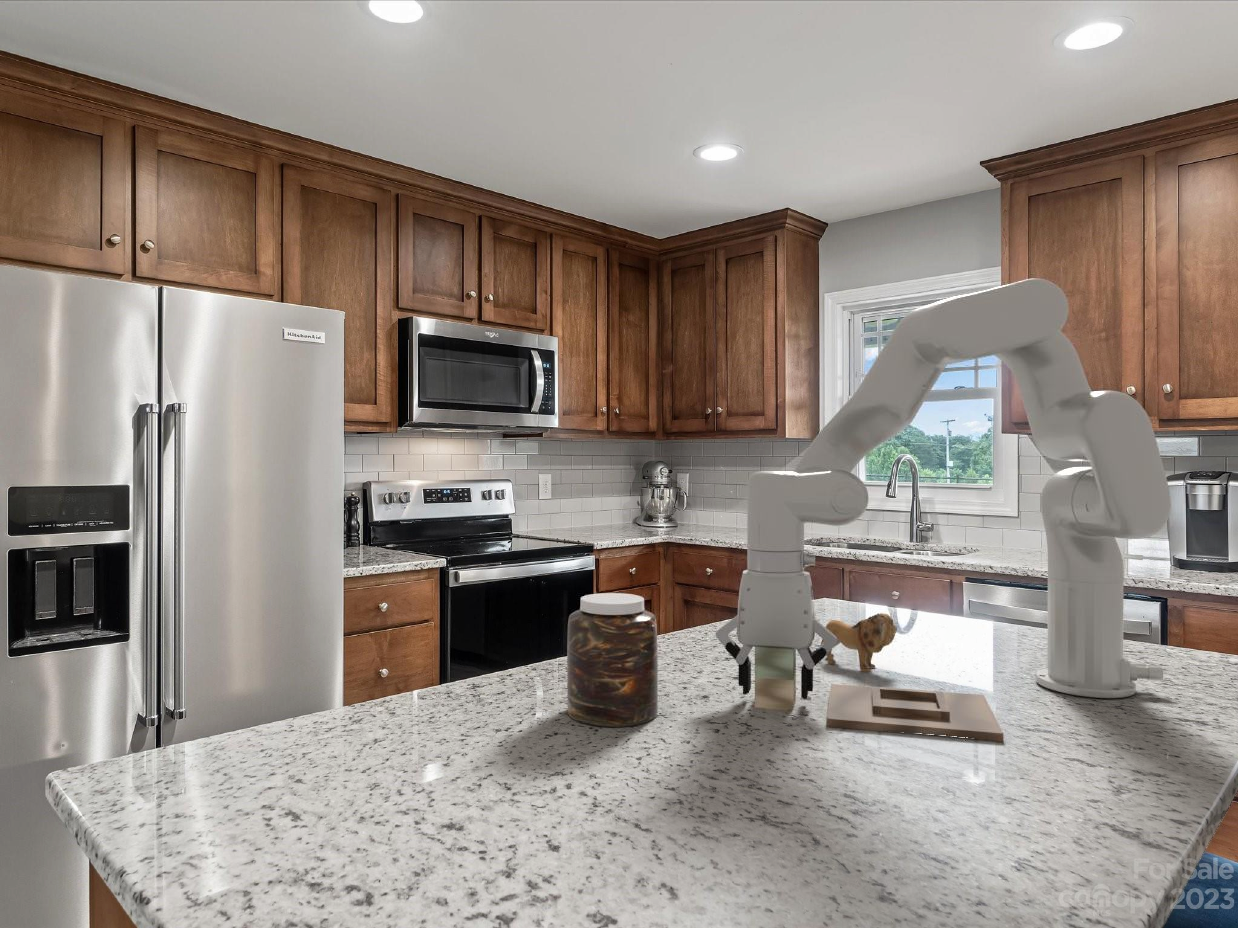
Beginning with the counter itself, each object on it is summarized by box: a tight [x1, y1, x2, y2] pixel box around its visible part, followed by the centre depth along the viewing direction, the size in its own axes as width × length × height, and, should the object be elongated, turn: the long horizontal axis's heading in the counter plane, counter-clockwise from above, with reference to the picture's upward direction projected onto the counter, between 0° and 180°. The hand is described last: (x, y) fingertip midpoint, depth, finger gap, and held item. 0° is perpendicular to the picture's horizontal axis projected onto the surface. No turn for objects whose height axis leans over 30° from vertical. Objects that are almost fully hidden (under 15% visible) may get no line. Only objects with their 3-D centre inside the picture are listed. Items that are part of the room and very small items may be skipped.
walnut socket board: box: [826, 683, 1004, 743], centre depth 107 cm, size 20×16×2 cm
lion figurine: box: [812, 612, 898, 673], centre depth 132 cm, size 15×5×9 cm, turn 46°
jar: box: [566, 592, 659, 728], centre depth 108 cm, size 12×12×15 cm
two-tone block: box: [754, 646, 797, 712], centre depth 112 cm, size 5×5×8 cm
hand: (775, 692), depth 112 cm, fingers open, 7 cm apart
